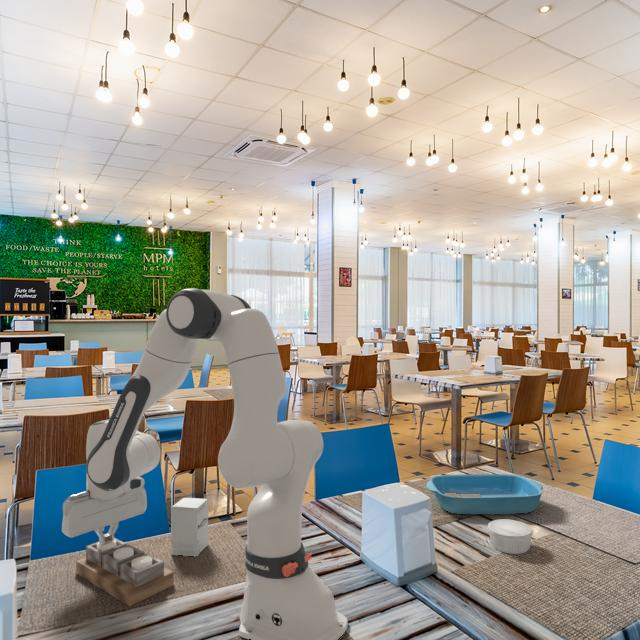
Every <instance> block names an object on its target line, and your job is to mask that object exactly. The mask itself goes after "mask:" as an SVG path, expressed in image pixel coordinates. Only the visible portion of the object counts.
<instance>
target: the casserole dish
mask: <svg viewBox="0 0 640 640" xmlns="http://www.w3.org/2000/svg"><path fill="white" fill-rule="evenodd" d="M425 485H426V488H427V489H428V490H429V491H430V492H433V495H434V497H435V499H436V500H437V502H438V503H439V505H440V506H441V507H442V509H443V510H444V511H446V512H447V511H448V513H450V512H451V513H450V514H453V513H457V514H456V515H460V514H492V515H494V514H503V515H516V514H515V513H525V514H529V513H528V512H530V513H532V512H533V511H535V510H536V509H537V507H538V505H540V500H541V496H542V495H543V488H544V487H543V485H542V484H541V483H540V482H538V481H535V480H533V479H529V478H526V477H524V476H521V475H517V474H509V473H508V474H506V473H505V474H503V473H502V474H501V473H500V474H499V473H497V474H496V473H495V474H494V473H493V474H492V473H491V474H489V473H487V474H486V473H485V474H483V473H482V474H480V473H479V474H440V475H435V476H432V477H431V478H430V480H429V481H428V482H427V483H426V484H425ZM445 493H456V494H480V496H481V497H452V496H447V495H444V494H445Z"/></svg>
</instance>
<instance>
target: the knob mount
mask: <svg viewBox="0 0 640 640" xmlns="http://www.w3.org/2000/svg"><path fill="white" fill-rule="evenodd" d="M114 539H115V540H116V547H114V548H111V549H108V550H106V551H103V552H101V551H99V550H98V549H97V543H98V542H99V541H96V542H94V543H91V544H89V545H86V546H85V557H83V558H81V559H78V560H76V561H75V562H76V566H75V572H76V574H75V575H77V576H79V577H81V578H82V579H84V580H86V581H87V582H89V583H91V584H93V585H94V586H95V587H97V588H99V589H100V590H102V591H104V592H106V593H107V594H108V595H110V596H112V597H113V598H115V599H117V600H118V601H120V602H122V603H123V604H125V605H127V606H128V607H132V606H134V605H136V604H138V603H140V602H142V601H144V600H146V599H148V598H150V597H152V596H155V595H156V594H158V593H161V592H162V591H165V590H166V589H168V588H170V587H173V586H174V585H175V584H174V583H175V582H174V571H173V570H170V569H168V568H166V567H165V562H164V561H163V560H161V559H160V558H157V557H155V556H154V555H151V554H149V553H146V552H145V551H144V550H140V549H138V548H137V547H134V546H133V545H131V544H128V543H126V542H124V541H122V540H119V538H116V537H114ZM124 547H130V548H133V549H134V555H133V556H131V557H128V558H126V559H123V560H121V561H118V560H116V559H115V558H114V555H113V553H114V551H115V550H117V549H120V548H124ZM141 556H149V557H151V558H152V565H151V566H148V567H146V568H144V569H141V570H139V571H137V570H135V569H134V568H132V560H133V559H135V558H137V557H141Z"/></svg>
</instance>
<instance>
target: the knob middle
mask: <svg viewBox="0 0 640 640" xmlns="http://www.w3.org/2000/svg"><path fill="white" fill-rule="evenodd" d="M113 555H114V558H115V559H116V560H118V561H121V560H123V559H126V558H128V557H131V556H133V555H134V549H133V548H130V547H124V548H120V549H117V550H115V551H114V553H113Z"/></svg>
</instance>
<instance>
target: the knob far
mask: <svg viewBox="0 0 640 640" xmlns="http://www.w3.org/2000/svg"><path fill="white" fill-rule="evenodd" d="M97 542H98V543H97V549H98V550H99V551H101V552H103V551H106V550H108V549H111V548H114V547H116V540H115V539H114V541H112V542H109V543H106V544H104V545H101V544H100V543H99V541H97Z"/></svg>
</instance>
